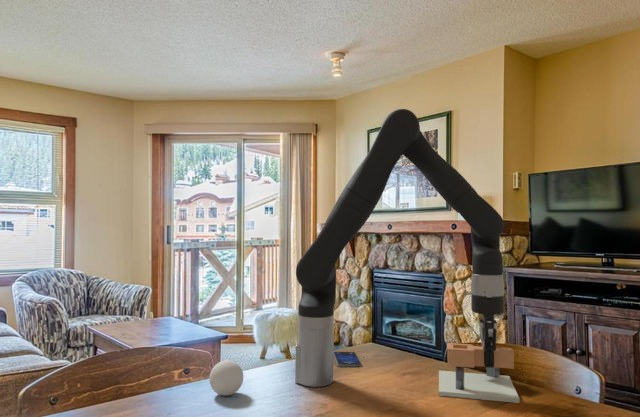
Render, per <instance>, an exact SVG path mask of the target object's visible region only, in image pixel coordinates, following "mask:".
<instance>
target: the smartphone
mask: <svg viewBox="0 0 640 417" xmlns="http://www.w3.org/2000/svg"><path fill="white" fill-rule="evenodd" d="M333 355H334V356H333V359H334V360H335V363H336V366H338V368H358V367H357V366H362V367H363V365H362V363H361V360H360V359H359V357H358V355H357V352H355V351H333Z"/></svg>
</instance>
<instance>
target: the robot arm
mask: <svg viewBox="0 0 640 417" xmlns="http://www.w3.org/2000/svg"><path fill="white" fill-rule="evenodd" d="M402 156H404V157H405V158H406V159H408V161H410V163H412V164H413V165H414V166H415V167H416V168H417V170H419V171H420V173H421V174H422V175H423V176H424V177H425V179H427V181H429V183H430V184H431V186H432V187H433V189H435V190H436V192H437V193H438V194H439V195H440V196H441V198H442V199H443V200H444V201H445V202H446V203H447V204H448V205H449V207H450V208H452V210H453V211H455V212H456V213H458V214H459V215H460V216H461V217H462V218H463V220H465V222H466V223H467V224H468V225H469V226H470V239H471V249H472V258H471V260H472V261H471V263H472V264H471V270H472V271H471V272H472V273H471V284H470V285H471V286H470V289H471V294H470V298H471V305H470V306H471V307H470V308H471V311H472V312H473V313H475V314H479V315H481V317H480V318H478V326H479V337H480V341H481V342H480V344H481V345H480V346H482V347H483V350H484V366H485V368H486V367H488V368H493V367H494V352H495V351H496V347H497V340H498V338H497V335H498V334H497V333H498V330H497V329H498V321H497V320H496V319H495V316H498V315H503V314H504V313H505V282H504V274H503V273H504V269H503V266H504V265H503V263H504V262H503V260H504V259H503V253H501V250H500V249H501V246H500V244H501V242H500V241H501V240H500V236H501V235H502V233H503V232H504V228H505V223H504V219H503V217H502V216H501V215H500V213H499V212H498V211H497V210H496V208H494V207H493V206H492V205H491V204H489V202H488V201H487V200H486V199H484V198H483V197H481V195H480V194H478V192H477V191H476V189H475V188H474V187H473V186H472V185H471V184H470V182H468V181H467V179H466V178H465V177H464V176H463V175H462V174H461V173H460V172H459V171H458V170H457V169H456V168H455V167H453V166H452V165H451V164H450V162H448V161H446V159H444V158H443V157H442V156H441V155H440V154H439V153H438V152H437V151H436V150H435V149H434V148H433V147H432V146H431V144H430V143H429V142H428V140H427V139H426V137H425V135H424V134H423V132H422V131H421V127H420V121H419V119H418V117H417V116H416V114H415V113H414V112H413V111H411V110H410V109H406V108H400V109H399V108H398V109H395V110H394V111H392V112H390V113H389V114H388V115H387V116H386V117H385V119H384V120H383V122H382V124H381V127H380V128H379V131H378V133H377V135H376V137H375V139H374V141H373V143H372V145H371V147H370V149H369V151H368V153H367V154H366V156H365V157H364V159H363V160H362V162H361V163H360V164H359V166H357V169H356V170H355V172H354V173H353V175H352V176H351V178H350V179H349V180H348V182H347V184H346V185H345V187H344V188H343V190H342V191H341V193H340V195H339V197H338V198H337V200H336V202H335V204H334V206H333V207H332V209H331V211H330V213H329V215H328V216H327V218H326V220H325V223H324V224H323V227H322V228H321V230H320V232H319V233H318V235H317V236H316V238H315V239H314V240H313V243H311V245H310V246H309V247H308V249H307V250H306V251H305V253H304V254H303V255H302V256H301V258H300V259H299V261H298V262H297V265H296V267H295V268H296V269H295V276H296V280H297V282H298V283H299V285H300V286H301V296H300V300H299V302H298V310H297V311H298V313H297V314H298V316H297V317H298V321H297V322H298V323H297V329H298V330H297V332H298V333H297V334H298V335H297V337H298V338H297V341H298V342H297V344H296V345H295V364H294V365H295V374H294V375H295V376H294V379H295V380H294V381H295V384H300V385H303V386H306V387H312V388H313V387H314V388H316V387H317V388H318V387H319V388H320V387H325V386H329V385H331V384H333V383H334V356H333V352H334V343H335V342H334V341H335V340H334V337H335V336H334V328H335V327H334V325H335V324H334V323H335V322H334V319H335V318H334V315H335V314H334V313H335V305H336V304H335V303H336V295H337V294H336V292H337V268H336V264H337V261H338V260H339V258H340V256H341V254H342V252H343V251H344V249H345V248H346V246H347V245H348V243H350V242H351V240H352V239H353V238H354V237H355V236H356V235H357V234H358V233H359V232H360V230H361V228H362V227H363V226H364V225H365V224H366V222H367V221H368V220H369V218H370V216H371V215H372V214H373V212H374V210H375V208H376V207H377V205H378V203H379V202H380V199H381V197H382V195H383V193H384V191H385V189H386V187H387V183H388V181H389V178H390V176H391V173H392V171H393V169H394V168H395V166H396V165H397V163H398V161H399V160H400V159H401V157H402Z"/></svg>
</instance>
